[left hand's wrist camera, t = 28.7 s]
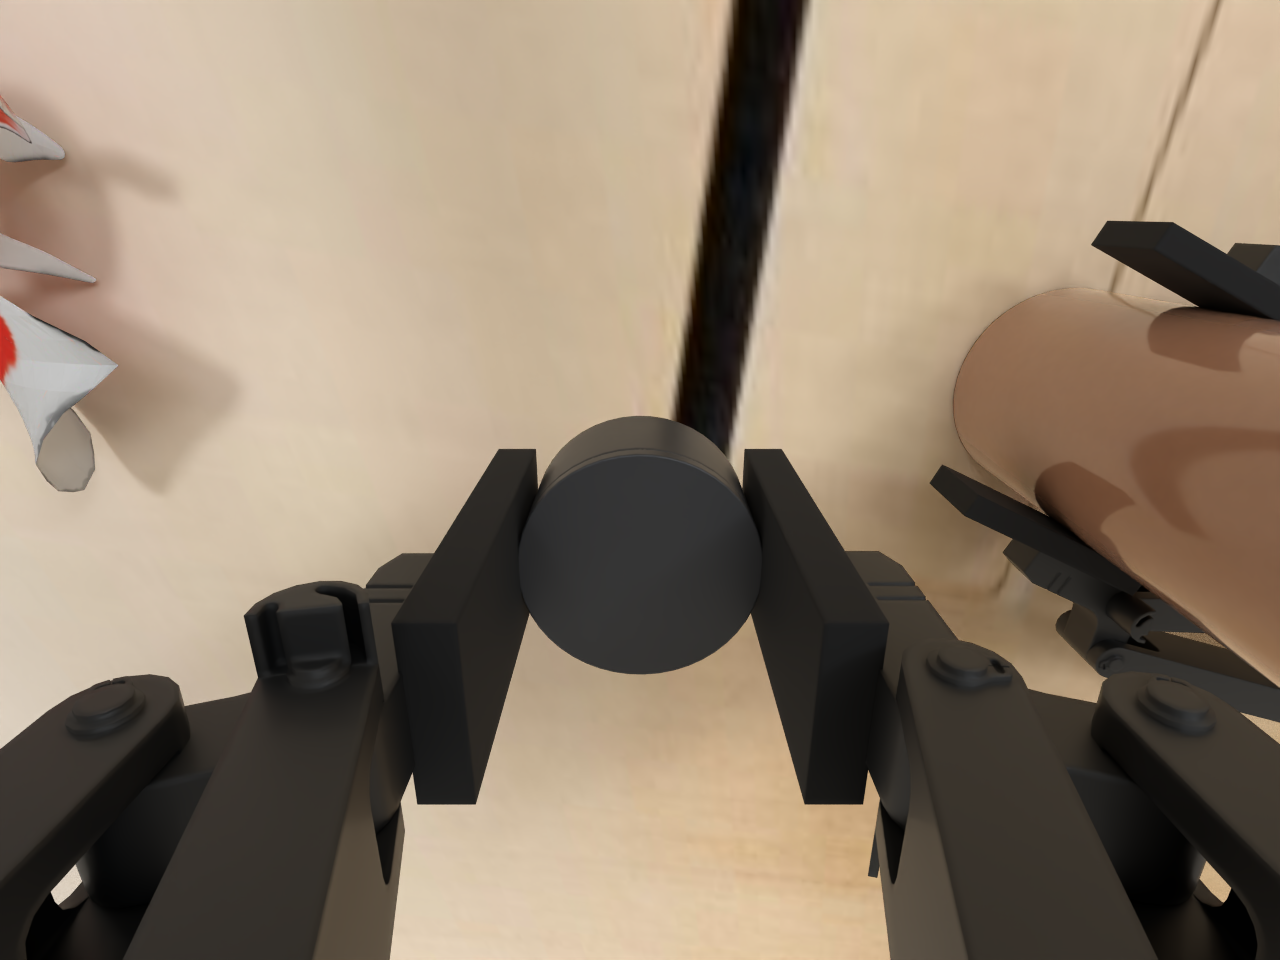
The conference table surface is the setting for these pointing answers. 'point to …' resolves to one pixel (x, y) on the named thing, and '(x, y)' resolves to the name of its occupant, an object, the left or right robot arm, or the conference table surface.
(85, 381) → the fish
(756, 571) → the cap
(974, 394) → the bottle
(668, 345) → the conference table surface
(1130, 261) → the right robot arm
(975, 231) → the conference table surface
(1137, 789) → the left robot arm
